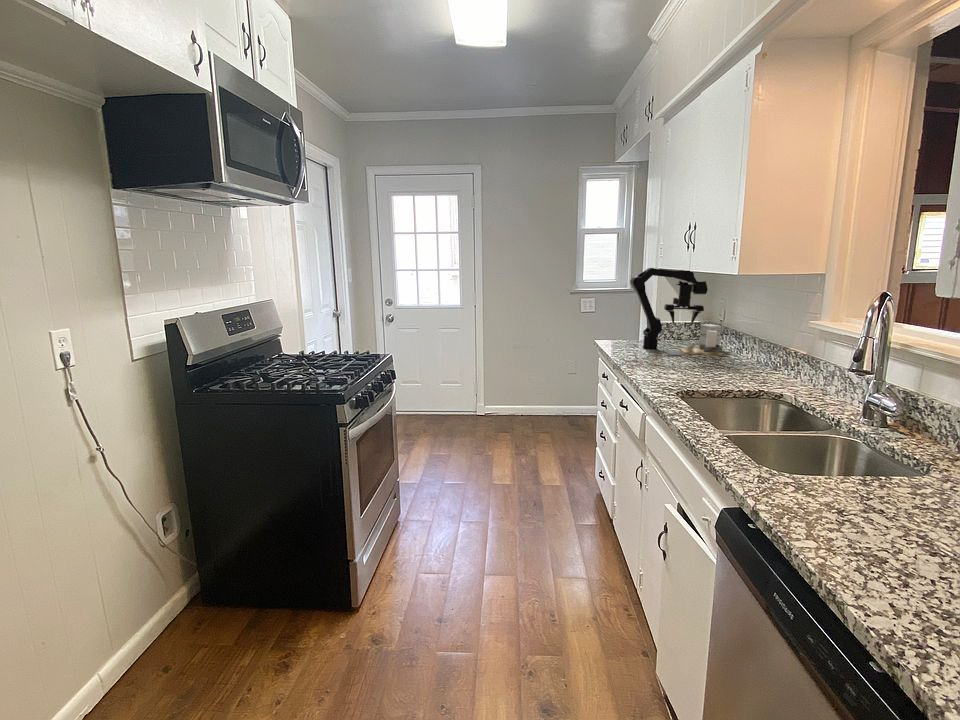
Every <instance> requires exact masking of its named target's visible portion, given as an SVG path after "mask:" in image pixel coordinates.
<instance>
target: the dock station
mask: <svg viewBox="0 0 960 720" xmlns="http://www.w3.org/2000/svg"><path fill="white" fill-rule="evenodd" d="M679 351H680V352H681V353H682V354H684V355H705V356H706V355H707V356H723V353H722V352H723V347H722V346H721V345H720V344H719V345H716V347H706V344H700V348H699V347H698V348H697V347H696V348H695V347H694V345H693V344H691V343H687V344H686V347H679Z"/></svg>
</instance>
